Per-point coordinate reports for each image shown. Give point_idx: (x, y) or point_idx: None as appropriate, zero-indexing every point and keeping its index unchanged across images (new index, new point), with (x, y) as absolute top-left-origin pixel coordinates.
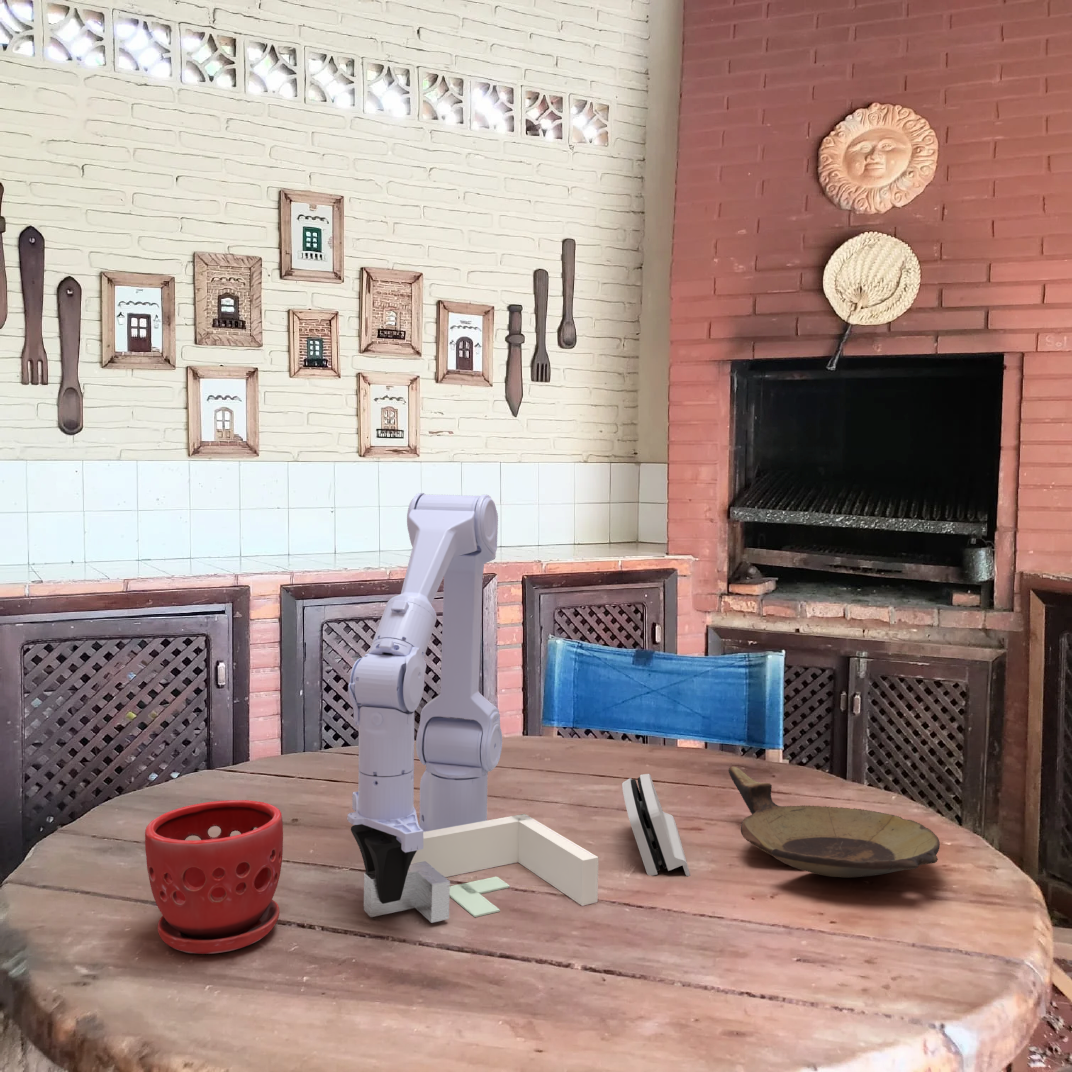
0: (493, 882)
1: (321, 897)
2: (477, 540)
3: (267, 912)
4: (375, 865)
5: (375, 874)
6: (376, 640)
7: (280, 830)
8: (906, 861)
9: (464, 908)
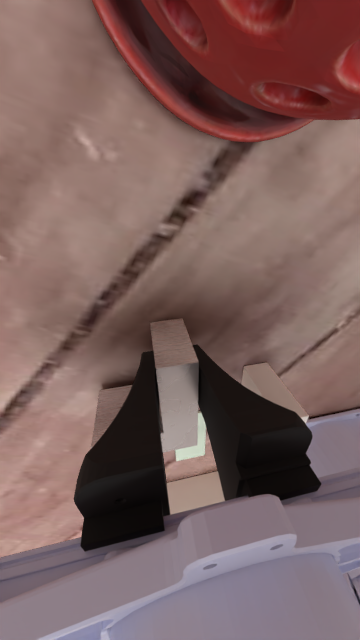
0: (191, 451)
1: (280, 268)
2: None
3: (239, 106)
4: (143, 403)
5: (179, 378)
6: None
7: None
8: None
9: None
